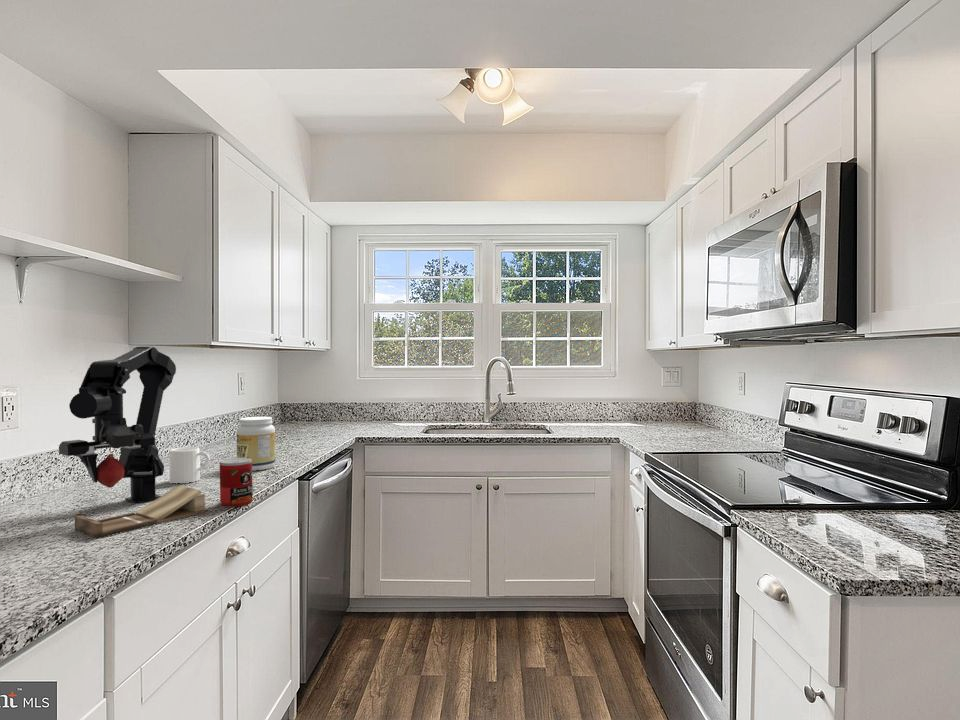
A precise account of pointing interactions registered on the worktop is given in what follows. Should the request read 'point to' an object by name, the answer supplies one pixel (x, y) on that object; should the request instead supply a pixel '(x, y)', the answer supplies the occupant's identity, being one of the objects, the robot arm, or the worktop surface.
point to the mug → (186, 464)
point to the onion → (110, 471)
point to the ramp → (174, 502)
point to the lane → (124, 522)
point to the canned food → (236, 482)
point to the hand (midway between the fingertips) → (109, 479)
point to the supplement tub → (257, 442)
